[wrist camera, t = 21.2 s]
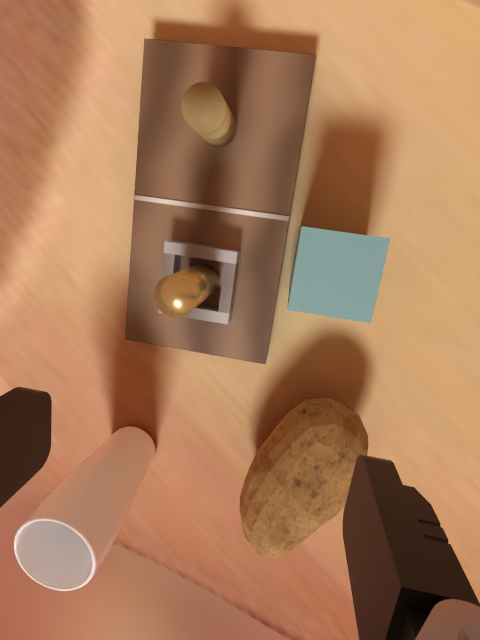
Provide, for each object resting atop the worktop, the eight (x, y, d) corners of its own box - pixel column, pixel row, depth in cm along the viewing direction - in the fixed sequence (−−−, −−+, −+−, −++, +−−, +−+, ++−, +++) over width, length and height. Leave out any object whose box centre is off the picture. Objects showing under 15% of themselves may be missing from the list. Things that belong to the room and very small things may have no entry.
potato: (383, 416, 38) (410, 474, 29) (289, 516, 42) (288, 594, 34) (313, 366, 38) (318, 409, 29) (226, 472, 42) (207, 538, 33)
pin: (221, 266, 35) (197, 278, 26) (217, 298, 36) (193, 320, 27) (189, 261, 35) (155, 272, 27) (186, 293, 36) (152, 313, 27)
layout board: (314, 65, 32) (320, 13, 24) (266, 357, 39) (259, 389, 31) (153, 49, 33) (110, -4, 26) (133, 333, 40) (94, 359, 32)
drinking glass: (121, 478, 44) (37, 600, 30) (95, 427, 43) (-4, 528, 29) (173, 463, 43) (111, 583, 28) (147, 410, 42) (70, 507, 27)
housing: (366, 235, 35) (390, 238, 26) (352, 300, 36) (370, 323, 28) (299, 226, 35) (301, 226, 27) (289, 290, 37) (287, 309, 28)
